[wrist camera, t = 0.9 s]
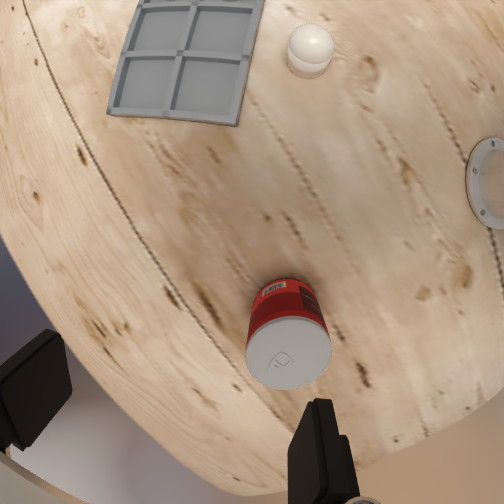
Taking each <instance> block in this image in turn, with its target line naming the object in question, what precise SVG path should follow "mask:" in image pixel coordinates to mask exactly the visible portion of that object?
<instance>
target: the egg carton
mask: <svg viewBox="0 0 504 504" xmlns="http://www.w3.org/2000/svg"><path fill="white" fill-rule="evenodd" d="M264 2H265V0H239V1H234V2H229V1H224V0H178V1H166V0H139V2H138V5H137V8H136V10H135V13H134V16H133V18H132V21H131V24H130V27H129V30H128V33H127V36H126V39H125V42H124V45H123V48H122V51H121V55H120V58H119V62H118V65H117V69H116V73H115V76H114V80H113V84H112V88H111V92H110V97H109V101H108V106H107V110H106V114H108V115H111V116H122V117H145V118H160V119H173V120H184V121H194V122H203V123H211V124H219V125H226V126H233V127H237V126H238V121H239V116H240V111H241V106H242V101H243V96H244V91H245V86H246V81H247V76H248V72H249V67H250V62H251V58H252V53H253V49H254V44H255V40H256V36H257V31H258V27H259V23H260V18H261V14H262V10H263V6H264Z"/></svg>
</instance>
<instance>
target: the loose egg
mask: <svg viewBox="0 0 504 504" xmlns="http://www.w3.org/2000/svg"><path fill="white" fill-rule="evenodd" d="M334 51H335V41H334V38H333V36H332V35H331V33H330V32H329V31H328V30H327V29H325V28H324V27H322V26H320V25H317V24H304V25H301V26H299V27H297V28H296V29H295V30H294V31H293V32H292V33H291V35H290V38H289V43H288V51H287V59H286V60H287V65H288V68H289V69H290V71H291V72H292V73H293V74H295V75H296V76H298V77H301V78H305V79H313V78H316V77H319V76H320V75H321V74H323V72H324V71H325V69H326V67H327V65H328V63H329V61H330V60H331V58H332V56H333V54H334Z"/></svg>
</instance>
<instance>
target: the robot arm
mask: <svg viewBox="0 0 504 504" xmlns="http://www.w3.org/2000/svg"><path fill="white" fill-rule="evenodd" d="M466 186H467V194H468V199H469V202H470V205H471V208H472V210H473V212H474V214H475V215H476V217H477V218H478V219H479V221H480V222H482V223H483V224H484V225H485V226H487V227H489V228H492V229H496V230H502V229H504V140H503V139H501V138H487V139H484V140H482V141H481V142H480V143H478V144H477V146H476V147H475V148H474V150H473V151H472V153H471V155H470V158H469V161H468V166H467V172H466ZM71 394H72V385H71V380H70V375H69V370H68V364H67V359H66V353H65V346H64V341H63V339H62V338H61V335H60V334H59V333H57V332H55V331H52V330H50V329H45V330H44V331H43V332H41V333H40V334H39V335H38V336H36V337H35V338H34V339H33V340H31V341H30V342H29V343H27V344H26V345H25V346H24V347H22V348H21V349H20V350H19V351H18V352H16V353H15V354H14V355H13V356H11V357H10V358H9V359H8V360H7V361H5V362H4V363H3V364H2V365H1V366H0V504H88V503H86V502H84V501H82V500H80V499H78V498H76V497H74V496H72V495H70V494H68V493H66V492H64V491H62V490H60V489H59V488H57V487H55V486H53V485H52V484H50V483H48V482H46V481H44V480H43V479H41V478H40V477H38V476H36V475H35V474H33V473H31V472H30V471H28V470H27V469H25V468H24V467H22V466H21V465H19V464H18V463H16V462H15V461H13V460H12V459H11V456H10V447H9V446H10V445H11V444H13V445H14V446H16V447H17V448H18V449H20V450H21V451H24V449H25V448H26V447H30V446H31V445H32V444H33V442H34V441H35V440H36V439H37V437H38V436H39V435H40V433H41V432H42V431H43V429H44V428H45V427H46V426H47V424H48V423H49V422H50V421H51V420H52V418H53V417H54V416H55V415H56V413H57V412H58V411H59V410H60V408H61V407H62V406H63V405H64V404H65V402H66V401H67V400H68V399H69V397H70V396H71ZM288 504H381V503H379V502H378V501H377V500H375V499H373V498H370V497H364V496H362V497H360V492H359V487H358V483H357V477H356V472H355V468H354V463H353V458H352V454H351V449H350V445H349V440H348V438H347V436H346V435H339V431H338V426H337V422H336V417H335V412H334V407H333V403H332V400H331V399H321V398H315V399H314V401H313V402H311V401H309V402H308V404H307V406H306V409H305V411H304V413H303V416H302V418H301V420H300V423H299V425H298V427H297V430H296V432H295V434H294V436H293V439H292V441H291V443H290V445H289V448H288Z"/></svg>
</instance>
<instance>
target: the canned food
mask: <svg viewBox="0 0 504 504" xmlns="http://www.w3.org/2000/svg"><path fill="white" fill-rule="evenodd" d="M331 355H332V346H331V340H330V337H329V333H328V330H327V327H326V324H325V321H324V319H323V316H322V313H321V310H320V307H319V304H318V301H317V299H316V296H315V294H314V292H313V291H312V290H311V289H310V288H309V287H308V286H307V285H306V284H304V283H302V282H300V281H297V280H294V279H280V280H276V281H274V282H271V283H270V284H268V285H267V286H265V287H264V288H263V289H262V290H261V291H260V292H259V293H258V295H257V296H256V298H255V300H254V303H253V307H252V313H251V319H250V325H249V331H248V337H247V343H246V364H247V368H248V370H249V372H250V374H251V375H252V376H253V377H254V379H256V380H257V381H258V382H259V383H261V384H263V385H265V386H267V387H270V388H273V389H279V390H291V389H297V388H300V387H303V386H306V385H308V384H310V383H312V382H313V381H315V380H316V379H317V378H319V377H320V376H321V375H322V374H323V373H324V371H325V370H326V368H327V367H328V365H329V362H330V360H331Z"/></svg>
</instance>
